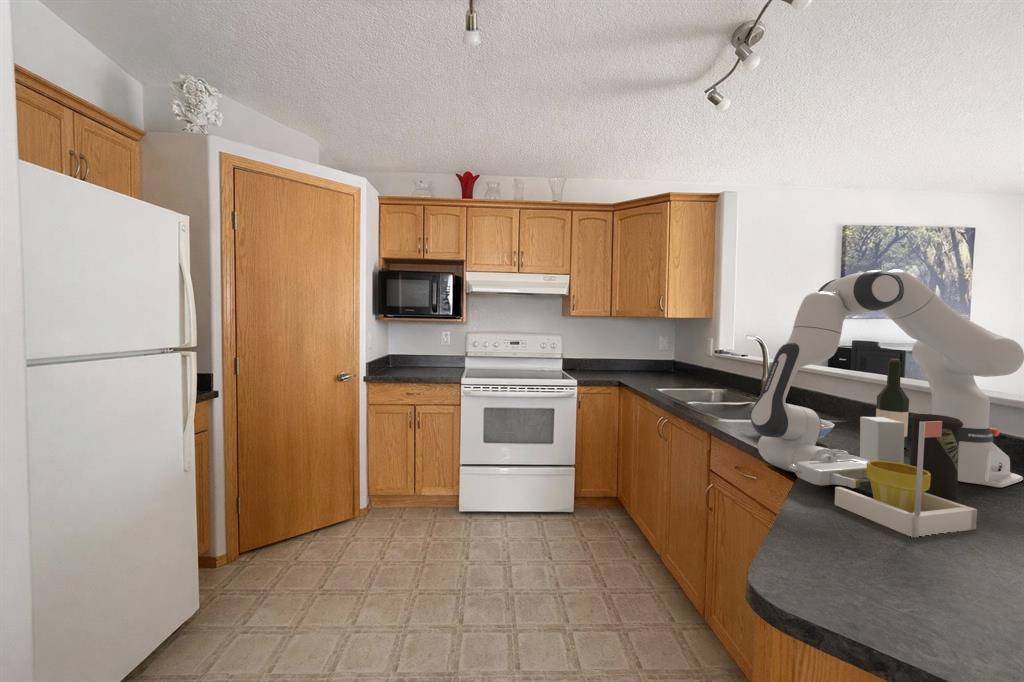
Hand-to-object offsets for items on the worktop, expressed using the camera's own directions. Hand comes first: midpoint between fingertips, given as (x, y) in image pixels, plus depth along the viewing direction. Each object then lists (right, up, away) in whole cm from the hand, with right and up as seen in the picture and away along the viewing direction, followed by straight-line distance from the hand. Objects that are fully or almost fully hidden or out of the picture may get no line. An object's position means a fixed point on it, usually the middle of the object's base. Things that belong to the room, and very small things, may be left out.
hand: (873, 483), depth 98 cm
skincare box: (+19, -5, +20) cm, 28 cm away
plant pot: (+2, -5, -3) cm, 7 cm away
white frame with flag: (+1, -5, -5) cm, 7 cm away
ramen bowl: (+19, -3, +56) cm, 60 cm away
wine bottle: (+49, -4, +51) cm, 71 cm away
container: (+17, -5, +4) cm, 19 cm away
